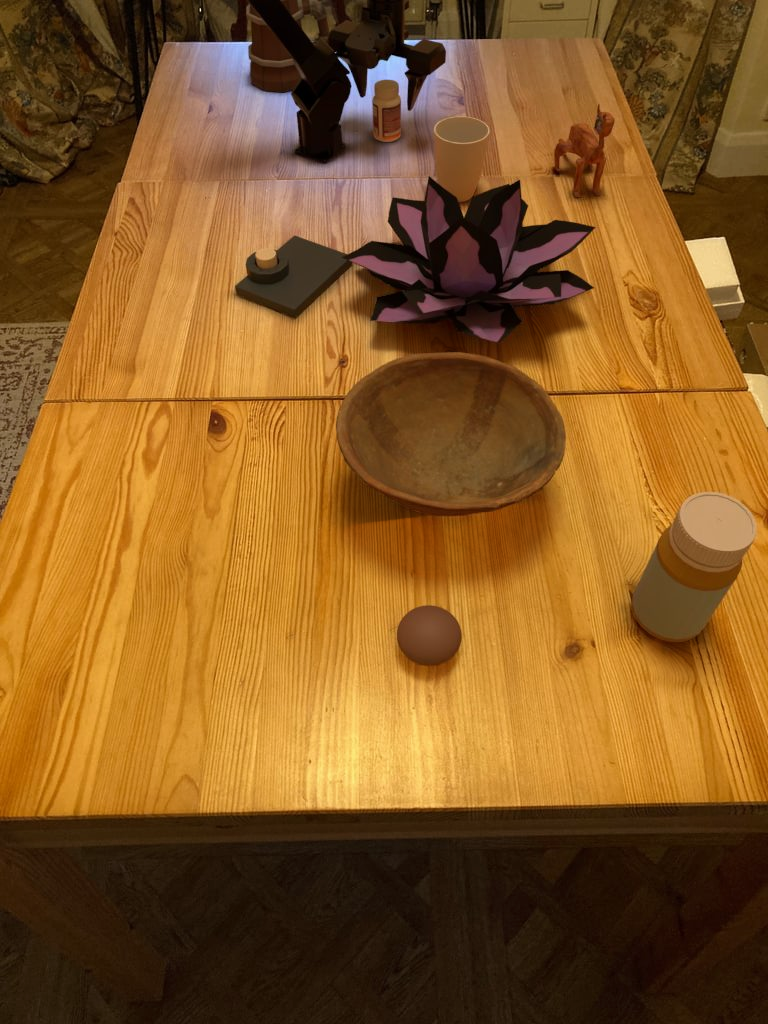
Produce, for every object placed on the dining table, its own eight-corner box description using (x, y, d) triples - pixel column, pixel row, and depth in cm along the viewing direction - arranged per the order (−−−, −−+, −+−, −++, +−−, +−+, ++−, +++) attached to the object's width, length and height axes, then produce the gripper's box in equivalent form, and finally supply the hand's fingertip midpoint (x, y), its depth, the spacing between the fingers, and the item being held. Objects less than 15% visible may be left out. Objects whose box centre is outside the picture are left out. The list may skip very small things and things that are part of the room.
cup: (483, 180, 123) (489, 117, 115) (482, 208, 118) (489, 144, 110) (432, 178, 123) (435, 115, 115) (429, 206, 118) (432, 142, 110)
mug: (251, 94, 141) (239, 2, 130) (251, 66, 149) (238, -24, 137) (336, 89, 142) (331, -3, 130) (331, 61, 150) (326, -29, 138)
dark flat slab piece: (231, 292, 106) (227, 274, 103) (290, 241, 113) (288, 223, 110) (295, 318, 102) (293, 299, 100) (352, 264, 109) (351, 245, 107)
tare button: (252, 265, 105) (251, 255, 104) (265, 255, 106) (263, 245, 105) (269, 272, 104) (267, 262, 103) (281, 261, 105) (280, 251, 104)
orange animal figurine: (539, 148, 129) (553, 60, 118) (577, 144, 129) (594, 57, 118) (571, 206, 118) (589, 115, 107) (613, 202, 118) (635, 111, 107)
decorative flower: (333, 368, 96) (317, 260, 85) (367, 236, 117) (358, 135, 106) (596, 373, 92) (616, 261, 81) (583, 236, 113) (597, 131, 102)
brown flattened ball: (452, 614, 75) (455, 592, 71) (466, 669, 71) (469, 649, 68) (391, 622, 74) (391, 601, 71) (402, 678, 70) (402, 658, 67)
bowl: (493, 606, 75) (505, 548, 67) (303, 509, 82) (293, 447, 75) (582, 462, 86) (601, 398, 78) (407, 389, 94) (409, 323, 86)
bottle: (621, 585, 76) (662, 490, 64) (689, 579, 77) (744, 484, 65) (641, 648, 72) (689, 559, 60) (713, 642, 72) (776, 552, 60)
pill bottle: (405, 132, 132) (405, 81, 126) (393, 145, 130) (393, 93, 123) (380, 127, 134) (379, 75, 127) (368, 139, 131) (367, 88, 124)
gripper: (303, 1, 114) (312, 109, 126) (412, 27, 108) (410, 138, 120) (345, -23, 120) (349, 83, 132) (450, 1, 114) (444, 109, 126)
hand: (386, 103), depth 127 cm, fingers open, 9 cm apart
